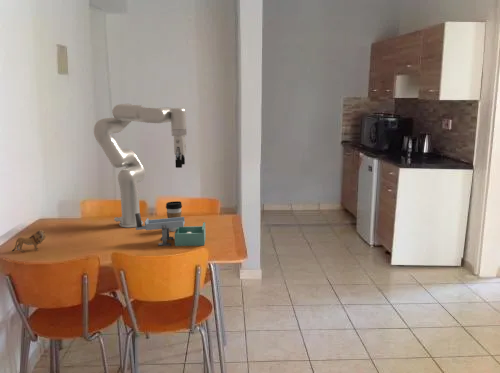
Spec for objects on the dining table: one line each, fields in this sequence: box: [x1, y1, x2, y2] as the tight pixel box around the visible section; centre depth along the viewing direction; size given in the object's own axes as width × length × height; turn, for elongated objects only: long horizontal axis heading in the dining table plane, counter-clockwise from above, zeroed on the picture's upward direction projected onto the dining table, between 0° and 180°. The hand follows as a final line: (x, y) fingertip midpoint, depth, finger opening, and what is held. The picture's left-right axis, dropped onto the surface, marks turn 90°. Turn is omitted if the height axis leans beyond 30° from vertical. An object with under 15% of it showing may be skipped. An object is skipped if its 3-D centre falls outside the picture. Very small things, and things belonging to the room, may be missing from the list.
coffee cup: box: [165, 200, 183, 232], centre depth 250 cm, size 8×8×15 cm
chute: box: [135, 212, 186, 231], centre depth 230 cm, size 23×7×8 cm, turn 92°
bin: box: [173, 222, 207, 247], centre depth 232 cm, size 14×12×8 cm
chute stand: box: [157, 226, 175, 247], centre depth 231 cm, size 6×12×10 cm, turn 2°
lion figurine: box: [11, 230, 46, 253], centre depth 221 cm, size 15×5×9 cm, turn 110°
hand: (180, 165), depth 244 cm, fingers open, 9 cm apart
